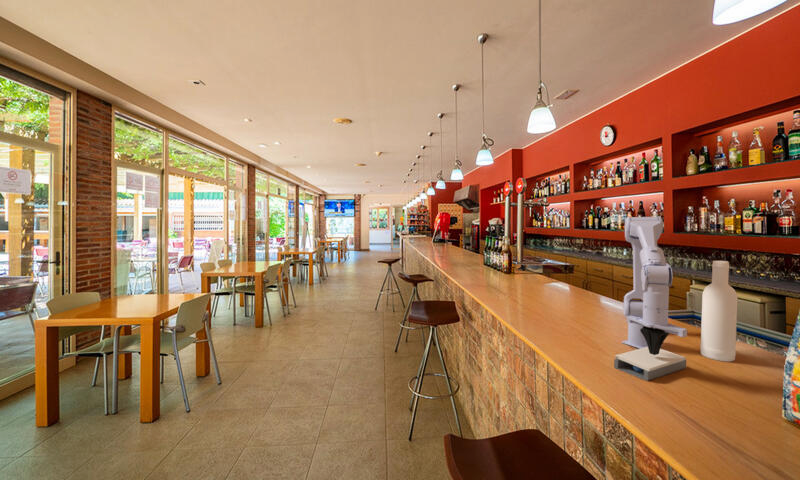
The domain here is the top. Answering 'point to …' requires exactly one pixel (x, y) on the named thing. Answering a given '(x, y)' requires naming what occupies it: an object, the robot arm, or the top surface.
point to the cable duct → (649, 374)
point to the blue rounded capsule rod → (637, 368)
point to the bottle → (719, 316)
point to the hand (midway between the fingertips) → (654, 353)
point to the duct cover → (650, 358)
